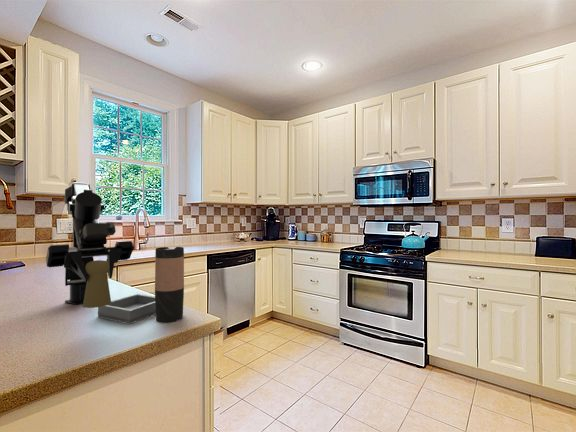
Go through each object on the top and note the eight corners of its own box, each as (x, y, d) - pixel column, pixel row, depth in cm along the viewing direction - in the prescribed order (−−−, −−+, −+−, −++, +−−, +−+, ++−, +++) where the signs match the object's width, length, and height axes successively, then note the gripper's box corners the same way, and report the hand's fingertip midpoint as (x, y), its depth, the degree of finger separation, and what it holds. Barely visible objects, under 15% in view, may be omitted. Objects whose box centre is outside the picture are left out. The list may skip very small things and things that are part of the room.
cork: (77, 305, 73) (77, 261, 73) (102, 299, 78) (102, 258, 78) (91, 309, 70) (91, 263, 70) (116, 302, 75) (116, 260, 75)
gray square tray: (98, 317, 84) (98, 304, 84) (137, 304, 95) (137, 293, 95) (129, 323, 78) (129, 310, 78) (167, 309, 90) (167, 298, 90)
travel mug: (166, 325, 77) (166, 250, 77) (148, 319, 81) (149, 248, 81) (189, 317, 84) (189, 247, 84) (172, 312, 88) (172, 246, 88)
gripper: (48, 211, 70) (55, 263, 62) (132, 212, 83) (146, 255, 76) (43, 242, 75) (49, 293, 68) (122, 238, 89) (135, 280, 81)
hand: (99, 278), depth 73 cm, fingers closed on cork, 5 cm apart
